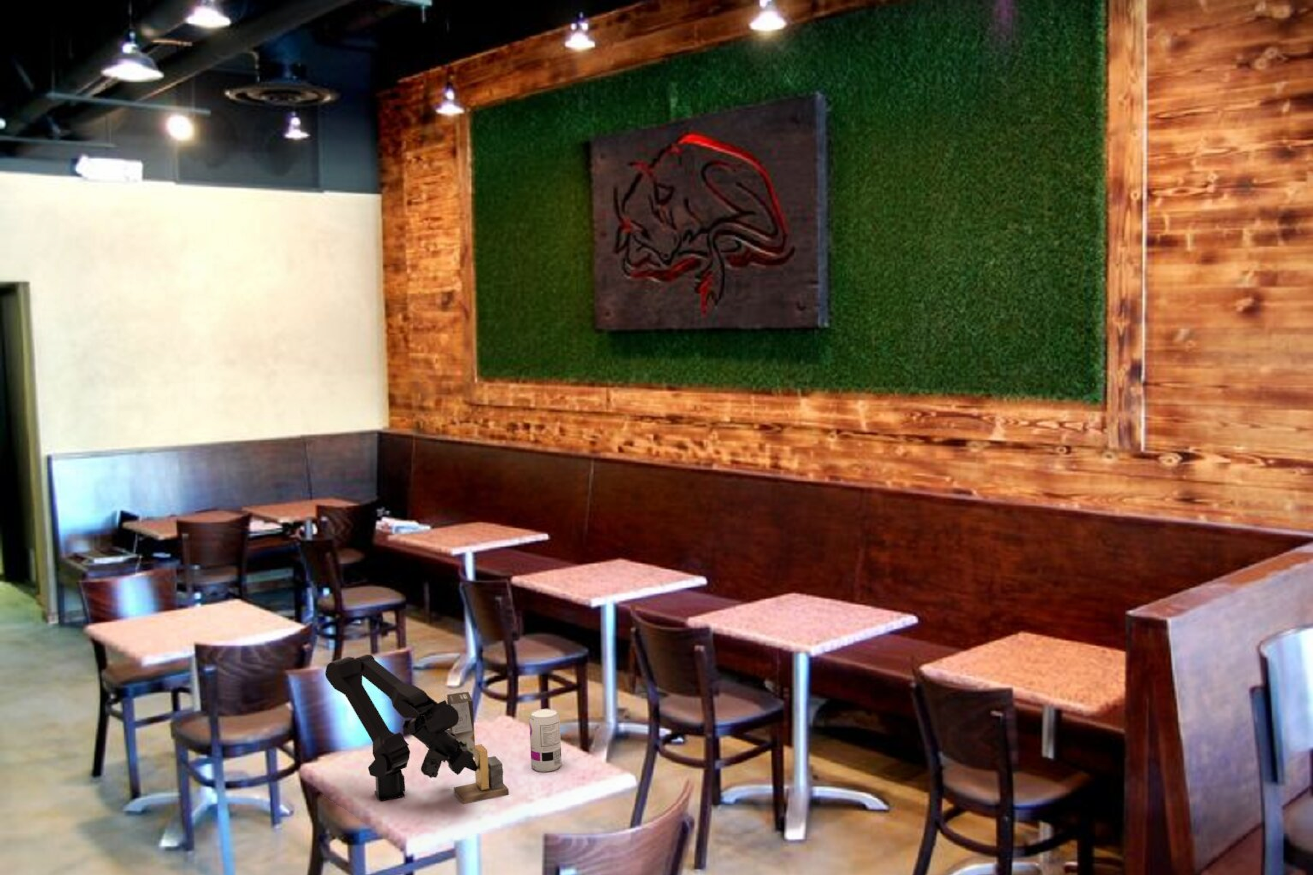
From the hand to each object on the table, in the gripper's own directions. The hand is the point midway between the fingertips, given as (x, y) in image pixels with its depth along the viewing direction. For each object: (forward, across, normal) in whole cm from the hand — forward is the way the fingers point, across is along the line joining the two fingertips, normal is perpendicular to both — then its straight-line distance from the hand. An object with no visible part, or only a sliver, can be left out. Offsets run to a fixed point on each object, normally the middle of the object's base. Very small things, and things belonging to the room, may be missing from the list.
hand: (476, 769), depth 304 cm
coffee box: (+8, -31, -1) cm, 32 cm away
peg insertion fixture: (+6, 0, -3) cm, 7 cm away
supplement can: (+20, -9, +11) cm, 25 cm away
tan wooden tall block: (+6, 0, -1) cm, 6 cm away
